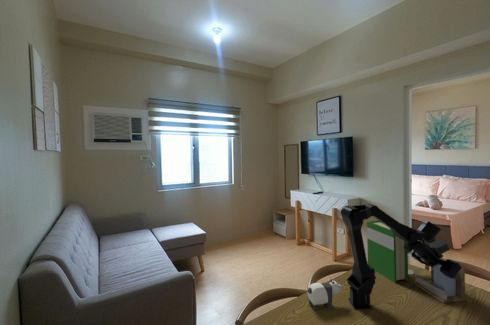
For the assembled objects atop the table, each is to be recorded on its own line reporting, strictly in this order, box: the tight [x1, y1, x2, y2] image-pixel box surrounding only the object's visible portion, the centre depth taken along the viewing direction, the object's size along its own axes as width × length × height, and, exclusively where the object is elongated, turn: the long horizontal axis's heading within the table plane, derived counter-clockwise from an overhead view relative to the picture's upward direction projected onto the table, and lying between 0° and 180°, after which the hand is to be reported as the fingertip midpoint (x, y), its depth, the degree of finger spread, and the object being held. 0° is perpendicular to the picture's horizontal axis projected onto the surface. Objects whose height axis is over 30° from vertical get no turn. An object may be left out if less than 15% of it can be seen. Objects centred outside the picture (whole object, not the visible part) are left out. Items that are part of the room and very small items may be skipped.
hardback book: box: [366, 219, 409, 284], centre depth 121 cm, size 18×7×24 cm, turn 12°
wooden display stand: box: [414, 257, 466, 304], centre depth 104 cm, size 10×14×13 cm
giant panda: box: [307, 278, 343, 311], centre depth 98 cm, size 15×6×10 cm, turn 101°
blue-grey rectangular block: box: [433, 265, 456, 297], centre depth 101 cm, size 5×5×10 cm
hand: (447, 273), depth 101 cm, fingers open, 9 cm apart
